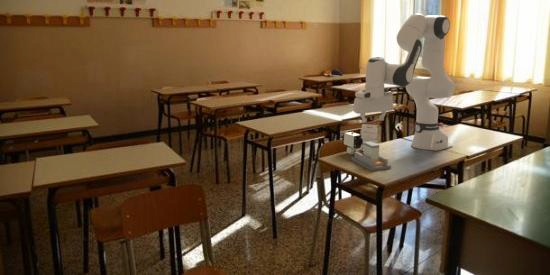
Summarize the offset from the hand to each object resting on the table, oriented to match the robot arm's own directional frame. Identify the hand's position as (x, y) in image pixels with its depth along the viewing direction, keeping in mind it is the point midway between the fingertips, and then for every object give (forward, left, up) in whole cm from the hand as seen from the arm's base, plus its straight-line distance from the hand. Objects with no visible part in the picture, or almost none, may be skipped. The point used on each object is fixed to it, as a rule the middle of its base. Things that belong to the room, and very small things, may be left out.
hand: (372, 121), depth 199 cm
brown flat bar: (0, 0, -20) cm, 20 cm away
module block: (0, 0, -19) cm, 19 cm away
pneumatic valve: (-1, -19, -22) cm, 29 cm away
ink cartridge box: (-13, -22, -22) cm, 34 cm away
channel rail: (0, 0, -22) cm, 22 cm away
